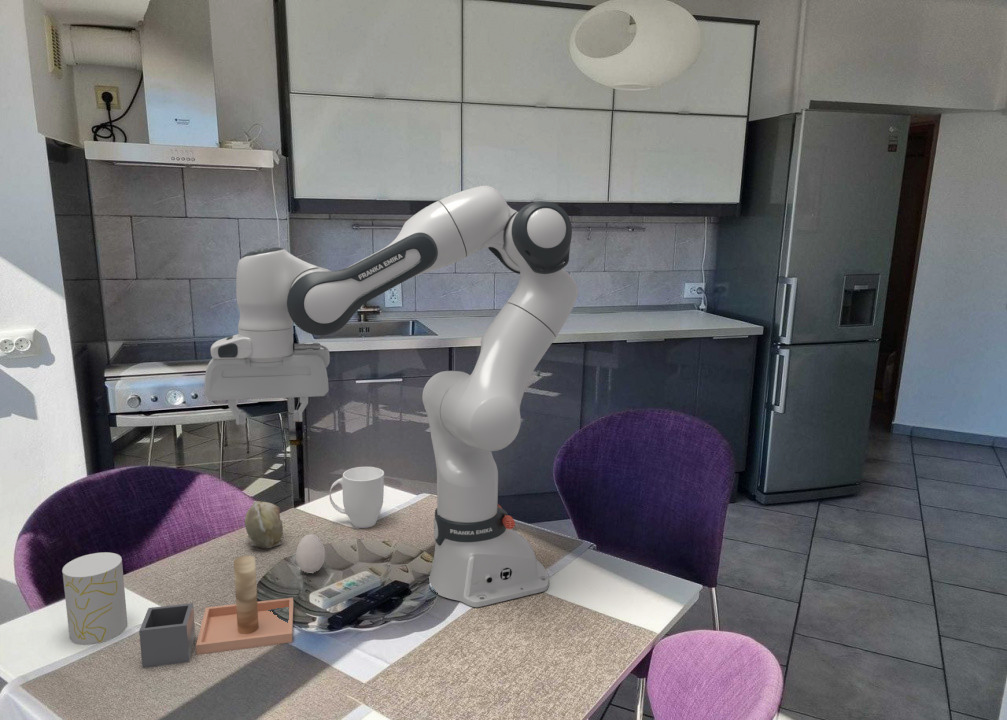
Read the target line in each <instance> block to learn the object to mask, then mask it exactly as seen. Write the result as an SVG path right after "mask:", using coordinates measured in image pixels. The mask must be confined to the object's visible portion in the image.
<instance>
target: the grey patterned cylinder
mask: <svg viewBox="0 0 1007 720" xmlns="http://www.w3.org/2000/svg"><path fill="white" fill-rule="evenodd" d="M61 572H62V580H63V590H64V597H65V598H64V599H65V608H66V618H67V625H68V627H67V629H68V634H69V637H68V638H69V639H70V641H71V642H72V643H73V644H76V645H82V646H87V645H89V646H90V645H96V644H101V643H104V642H107V641H110V640H112V639H114V638H116V637H118V636H119V635H121V634H122V633H123V632H125V631H126V629H127V627H128V624H129V623H128V615H127V613H128V612H127V603H126V593H125V582H124V581H125V580H124V570H123V559H122V556H121V555H120V554H118V553H114V552H108V551H107V552H106V551H105V552H95V553H94V552H93V553H89V554H85V555H82V556H78V557H76V558H74V559H72V560H71V561H69V562H67V563H66V564H65V565H63V567H62V570H61Z"/></svg>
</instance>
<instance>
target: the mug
mask: <svg viewBox="0 0 1007 720" xmlns="http://www.w3.org/2000/svg"><path fill="white" fill-rule="evenodd" d="M338 484H340V486H341V489H342V504H343V508H342V507H340V506H338V505H337V504H336V503H335V502H334V500H333V499H332V498H333V497H332V495H331V492H332V489H333V488H334V487H335V486H337V485H338ZM384 490H385V471H384V470H383V469H381V468H379V467H376V466H356V467H352V468H349V469H347V470H345V471H344V472H343V474H342V477H340V478H338V479H337V480H335V481H334V482H333V483H332V484H331V486H330V490H329V502H330V504H331V506H332V507H333V508H334V509H335V510H336V511H337V512H339V513H340V514H343V515H346V516H347V517H348V519H349V520H350V522H351V525H352V526H354V527H355V528H358V529H367V528H368V529H369V528H371V527H374V526H375V525H376V523H377V521H378V519H379V517H380V514H381V511H382V508H383V504H384V496H385V492H384Z"/></svg>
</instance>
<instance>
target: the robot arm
mask: <svg viewBox="0 0 1007 720" xmlns="http://www.w3.org/2000/svg"><path fill="white" fill-rule="evenodd" d="M572 235H573V227H572V221H571V219H570V216H569V215H568V214H567V212H566V211H565V210H564V209H563V208H562V207H561V206H559V205H558V204H557V203H553V202H550V201H543V200H542V201H534V202H530V203H529V204H526V205H524V206H523V207H522V208H521V209H520V210H518V211H517V210H516V209H513V208H512V207H511V206H509V205H508V203H507V201H506V199H505V197H504V196H503V195H502V194H501V192H500V191H498V190H497V189H496V187H492V186H490V185H477V186H475V187H471V188H468V189H464V190H462V191H459V192H456V193H453V194H451V195H450V194H449V196H448V195H447V196H446V197H443V198H441V199H440V200H437V201H435V202H433V203H431V204H429V205H428V206H425V207H424V208H422V209H421V210H419V211H418V212H417V213H415V214H414V215H413V216H411V217H410V218H408V219H407V220H406V221H405V222H404V224H403V225H402V227H401V230H400V232H399V233H398V235H397V236H396V237H395V239H394V240H393V241H391V242H390V243H389V244H388V245H386V246H385V247H383V248H381V249H379V250H378V251H376V252H375V253H372V254H370V255H369V256H366V257H365V258H362V259H360V260H359V261H357V262H355V263H353V264H352V265H349V266H348V267H345V268H342V269H339V270H330V269H327V268H325V267H321V266H318V265H316V264H312V263H309V262H307V261H305V260H302V259H300V258H299V257H297V256H294V255H293V254H292V253H290V252H288V251H287V250H286V249H285V248H283V247H277V246H275V247H267V248H262V249H255V250H252V251H249V252H247V253H245V254H244V255H242V256H241V258H240V259H239V260H238V262H237V263H238V264H237V267H236V278H235V279H236V281H235V282H236V283H235V286H236V287H235V289H236V292H235V293H236V303H237V307H238V309H239V320H238V325H237V330H238V331H237V332H238V333H237V334H234V335H230V336H228V337H224V338H221V339H218V340H216V341H215V342H213V343H212V345H211V346H210V356H211V359H210V361H209V362H208V364H207V366H206V371H205V375H204V396H205V397H206V398H207V399H208V401H211V402H212V401H214V402H215V401H217V402H218V401H227V406H228V408H229V409H230V411H231V412H232V413H233V415H234V416H235V425H237V426H238V425H239V426H240V425H246V423H247V421H246V420H247V417H246V416H247V415H246V412H243V411H242V412H241V411H240V409H239V408H238V406H237V405H238V403H239V400H258V399H259V400H260V399H264V400H265V399H282V398H283V399H285V398H286V399H288V398H290V399H291V398H299V403H301V404H300V406H299V407H298V409H293V414H292V415H293V423H298V422H299V423H300V422H303V413H304V412H305V411H304V410H305V409H306V407H307V406H308V404H309V397H312V398H313V397H325V396H326V395H327V393H328V392H329V391H330V390H329V378H328V371H327V368H328V367H329V365H330V361H331V360H330V359H331V357H330V356H331V355H330V351H329V349H328V348H327V346H326V345H322V344H321V343H318V342H313V343H304V342H303V343H301V342H300V343H297V342H296V343H294V327H293V326H294V325H296V326H297V328H299V329H300V330H302V331H304V332H305V333H307V334H311V335H314V336H327V335H331V334H334V333H336V332H338V331H340V330H341V329H342V328H344V327H345V326H346V325H347V323H348V322H350V320H351V319H352V318H353V316H354V315H355V313H356V312H357V311H358V310H359V309H360V308H361V307H362V306H364V305H365V304H367V302H369V301H371V300H373V299H374V298H375V299H376V297H379V296H381V294H384V293H386V292H387V291H389V290H391V289H393V288H394V287H396V286H399V285H400V284H402V283H404V282H406V281H408V280H410V279H411V278H415V277H417V276H421V275H423V274H427V273H429V272H432V271H436V270H440V269H442V268H445V267H448V266H451V265H452V264H455V263H457V262H459V261H462V260H464V259H465V258H468V257H469V256H471V255H473V254H475V253H477V252H479V251H481V250H483V249H484V250H485V249H486V248H488V250H489V251H490V252H491V253H492V254H493V255H494V256H495V257H496V258H497V260H499V261H500V263H501V264H502V265H503V266H504V267H505V268H506V269H507V270H509V271H510V272H512V273H515V274H518V275H519V282H518V284H517V286H516V288H515V290H514V291H513V293H511V296H510V297H509V298H508V300H507V301H506V303H505V304H504V305H503V307H502V308H501V309H500V310H499V312H498V313H497V315H496V316H495V317H494V319H493V321H492V322H491V323H490V324H489V326H488V327H487V329H486V330H485V332H484V333H483V334H482V336H481V339H480V352H479V355H478V357H477V361H476V363H475V366H474V368H473V371H472V372H471V374H469V373H467V372H464V371H459V370H444V371H439V372H438V373H436V374H433V375H432V376H431V377H430V378H429V379H428V381H427V382H426V383H425V385H424V387H423V390H422V397H421V399H422V404H423V406H424V407H423V408H424V409H425V411H426V412H425V413H426V415H427V419H428V425H429V431H430V436H431V437H430V438H431V443H432V447H433V448H432V449H433V453H434V458H435V467H436V495H437V496H436V498H437V499H436V500H437V502H436V508H435V510H434V518H433V535H434V536H433V537H434V541H435V545H434V546H435V547H434V554H433V559H432V560H433V561H432V565H431V570H430V572H429V575H430V576H428V578H429V580H430V583H431V585H432V586H433V588H434V589H435V590H436V592H438V594H437V595H438V596H440V597H443V598H447V599H450V600H454V601H458V602H461V603H464V604H466V605H467V606H469V607H473V608H479V607H485V606H489V605H494V604H498V603H501V602H507V601H510V600H513V599H517V598H518V599H519V598H522V597H526V596H531V595H535V594H539V593H542V592H543V593H544V592H546V591H547V590H548V588H549V586H550V579H549V574H548V572H547V570H546V567H544V565H543V564H542V563H541V562H540V561H539V560H538V559H537V557H536V554H535V550H534V548H533V546H532V544H531V543H530V542H529V541H528V540H527V538H526V537H524V535H522V534H520V533H518V531H515V530H514V529H515V528H514V527H515V526H516V521H515V520H514V518H513V516H511V515H508V512H507V510H505V509H504V508H502V506H501V505H500V504H498V497H499V496H498V492H499V491H498V490H499V471H498V467H497V463H496V461H495V459H494V457H493V452H495V451H496V452H497V451H500V450H503V449H505V448H507V447H508V446H509V445H511V444H512V443H513V442H514V440H515V439H516V438H517V435H518V433H519V431H520V428H521V421H522V417H521V404H522V400H523V397H524V394H525V391H526V388H527V385H528V383H529V380H530V379H531V376H532V374H533V373H534V371H535V369H536V367H537V366H538V364H539V363H540V362H541V360H542V359H543V357H544V356H545V354H546V352H547V351H548V350H549V348H550V347H551V345H552V344H553V343H554V340H555V339H556V337H557V336H558V335H559V333H560V332H561V330H562V329H563V327H564V325H565V323H567V320H568V318H569V316H570V315H571V312H572V310H573V308H574V307H575V304H576V302H577V299H578V295H579V294H578V293H579V289H578V286H577V283H576V281H575V280H574V278H573V277H572V276H571V275H570V273H568V272H567V271H566V270H565V269H564V268H565V267H566V266H567V265H568V264H569V261H570V250H571V243H572V238H573V236H572ZM293 323H294V324H293Z"/></svg>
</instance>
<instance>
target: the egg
mask: <svg viewBox="0 0 1007 720" xmlns="http://www.w3.org/2000/svg"><path fill="white" fill-rule="evenodd" d="M296 547H297V548H296V552H295V560H296V564H297V566H298V568H299V569H300V570H301V571H302V572H303V571H304V572H303V573H305V572H315V573H317V572H318V571H319V570H320V569H321V568H322V567H323V565H324V563H325V560H326V549H325V546H324V544H323V542H322V540H321V539H320V537H318V536H317V535H315V534H312V533H309V534H306V535H304V536H303V537H302V538H301V539H300V541H299V542H298V545H297V546H296ZM316 571H317V572H316Z"/></svg>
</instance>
